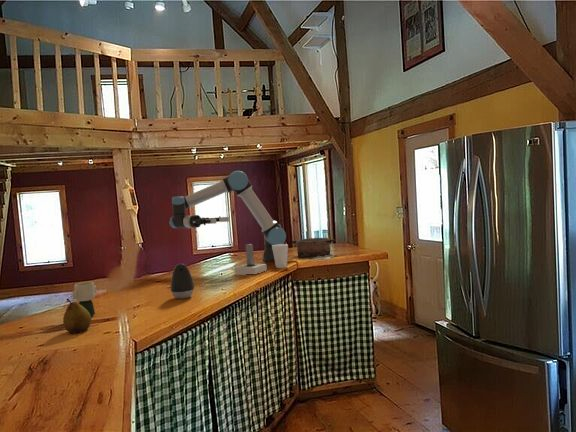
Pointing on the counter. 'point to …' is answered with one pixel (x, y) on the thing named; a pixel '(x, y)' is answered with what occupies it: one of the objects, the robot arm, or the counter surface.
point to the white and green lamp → (85, 295)
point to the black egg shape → (181, 282)
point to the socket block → (250, 269)
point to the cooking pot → (313, 247)
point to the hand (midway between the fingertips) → (222, 220)
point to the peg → (249, 255)
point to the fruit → (76, 318)
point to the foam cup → (280, 255)
